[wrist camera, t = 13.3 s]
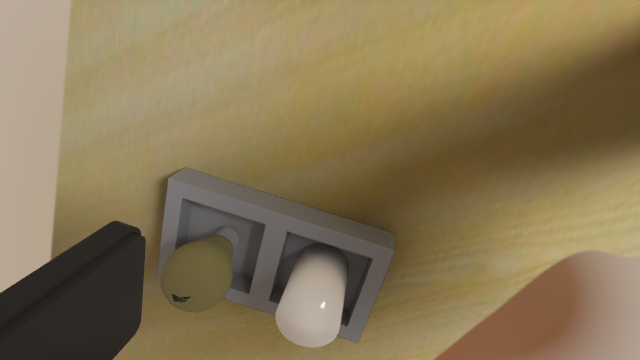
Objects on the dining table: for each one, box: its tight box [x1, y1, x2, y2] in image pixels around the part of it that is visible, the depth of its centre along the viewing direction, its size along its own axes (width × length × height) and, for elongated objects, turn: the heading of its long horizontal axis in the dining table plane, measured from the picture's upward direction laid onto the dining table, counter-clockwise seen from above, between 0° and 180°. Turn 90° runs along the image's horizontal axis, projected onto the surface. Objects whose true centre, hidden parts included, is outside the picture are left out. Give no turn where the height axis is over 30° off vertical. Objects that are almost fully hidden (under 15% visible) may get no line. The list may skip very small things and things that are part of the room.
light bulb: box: [161, 227, 239, 312], centre depth 34 cm, size 6×6×10 cm
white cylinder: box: [276, 243, 349, 348], centre depth 34 cm, size 5×5×8 cm
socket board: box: [157, 168, 395, 343], centre depth 37 cm, size 21×11×3 cm, turn 75°
